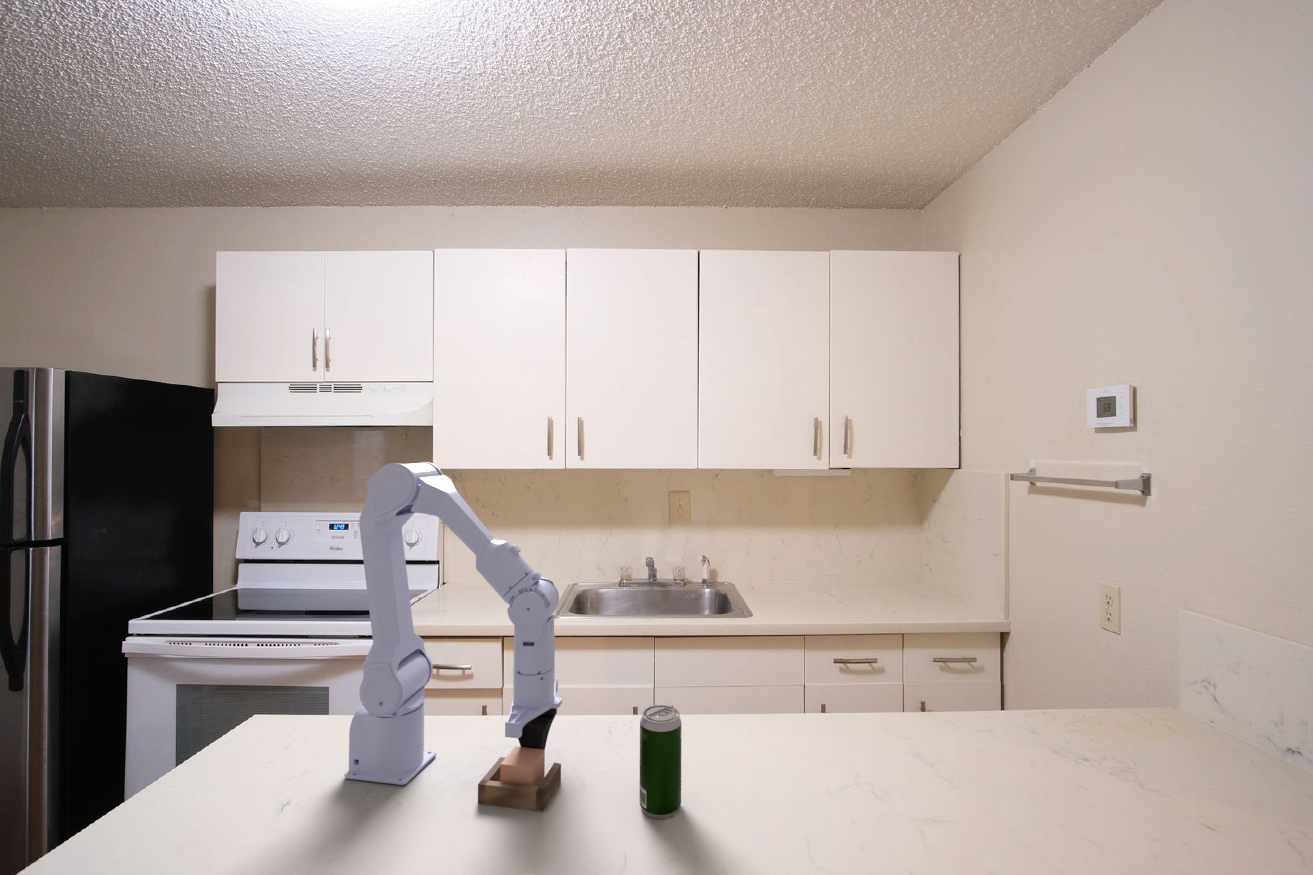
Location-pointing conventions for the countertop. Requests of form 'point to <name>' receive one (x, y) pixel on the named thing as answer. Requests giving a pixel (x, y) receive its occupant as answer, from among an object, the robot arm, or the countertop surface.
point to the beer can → (660, 761)
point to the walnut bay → (518, 790)
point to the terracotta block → (524, 766)
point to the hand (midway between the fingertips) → (533, 763)
